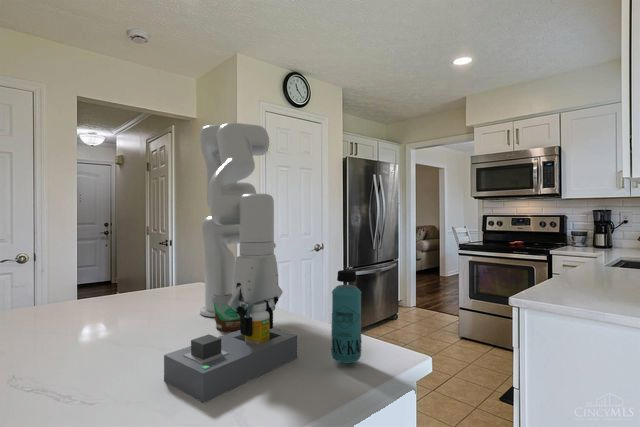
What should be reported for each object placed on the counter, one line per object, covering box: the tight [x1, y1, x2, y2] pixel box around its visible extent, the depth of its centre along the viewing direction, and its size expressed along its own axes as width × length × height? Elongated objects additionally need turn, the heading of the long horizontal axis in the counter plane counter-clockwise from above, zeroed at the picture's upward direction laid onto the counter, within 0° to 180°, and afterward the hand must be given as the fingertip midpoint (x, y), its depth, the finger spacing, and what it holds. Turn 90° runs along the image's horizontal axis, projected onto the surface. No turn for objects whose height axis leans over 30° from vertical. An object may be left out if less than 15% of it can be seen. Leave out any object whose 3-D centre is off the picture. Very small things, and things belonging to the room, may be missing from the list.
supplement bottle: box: [245, 301, 270, 345], centre depth 79 cm, size 5×5×10 cm
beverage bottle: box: [330, 269, 363, 364], centre depth 76 cm, size 6×7×20 cm
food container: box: [211, 294, 247, 333], centre depth 99 cm, size 12×6×10 cm, turn 117°
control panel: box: [163, 327, 298, 404], centre depth 74 cm, size 24×13×8 cm, turn 142°
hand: (257, 330), depth 79 cm, fingers closed on supplement bottle, 5 cm apart
